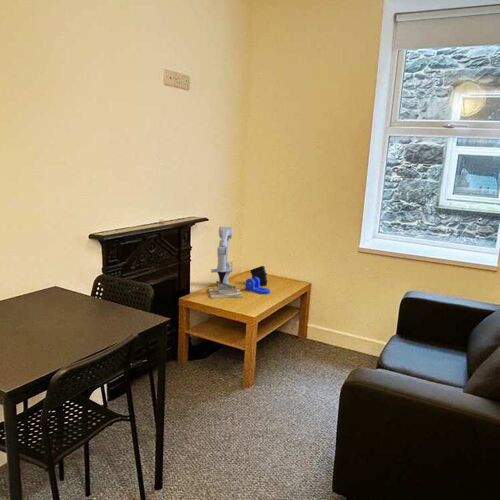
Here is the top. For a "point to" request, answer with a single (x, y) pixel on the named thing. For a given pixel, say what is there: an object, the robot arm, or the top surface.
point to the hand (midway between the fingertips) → (221, 282)
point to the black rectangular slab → (260, 275)
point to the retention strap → (225, 284)
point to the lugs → (233, 289)
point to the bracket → (256, 286)
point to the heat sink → (225, 290)
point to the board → (217, 295)
